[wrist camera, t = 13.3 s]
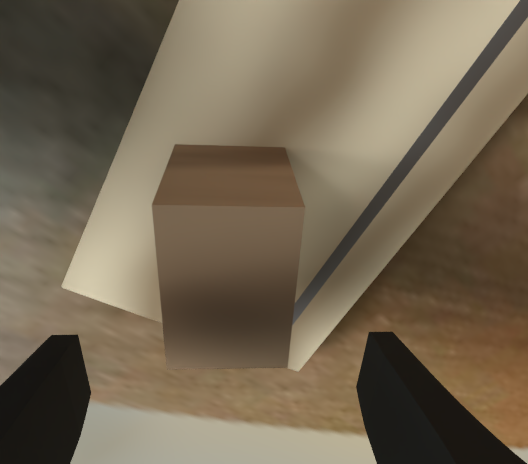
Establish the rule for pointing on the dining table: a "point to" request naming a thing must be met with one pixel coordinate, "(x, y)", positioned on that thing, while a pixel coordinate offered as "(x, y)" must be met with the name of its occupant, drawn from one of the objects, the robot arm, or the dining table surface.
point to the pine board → (312, 132)
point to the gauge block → (227, 256)
